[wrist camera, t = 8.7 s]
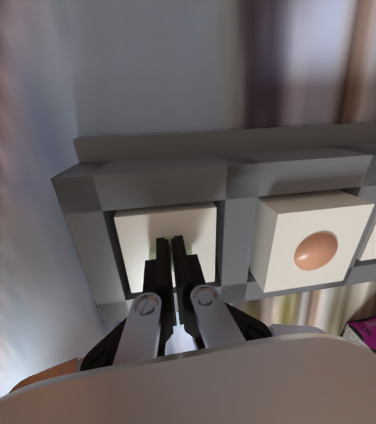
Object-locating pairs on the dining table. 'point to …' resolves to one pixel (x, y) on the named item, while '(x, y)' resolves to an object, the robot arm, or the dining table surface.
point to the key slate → (369, 244)
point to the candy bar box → (362, 332)
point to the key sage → (166, 236)
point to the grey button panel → (208, 195)
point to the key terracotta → (306, 238)
